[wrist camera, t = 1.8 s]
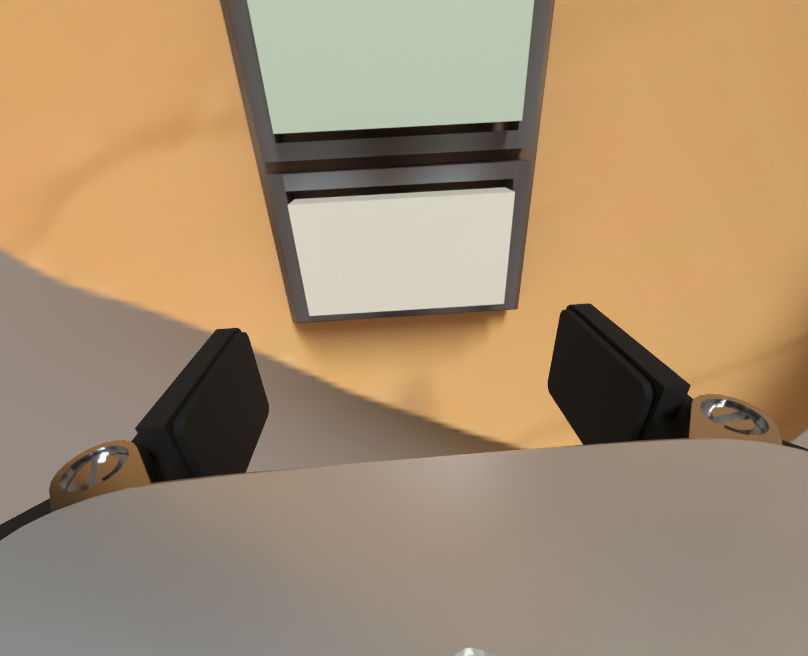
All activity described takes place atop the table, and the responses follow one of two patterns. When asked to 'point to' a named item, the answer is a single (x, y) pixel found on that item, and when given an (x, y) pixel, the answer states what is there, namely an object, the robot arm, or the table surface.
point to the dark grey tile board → (390, 161)
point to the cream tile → (403, 250)
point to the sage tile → (391, 62)
